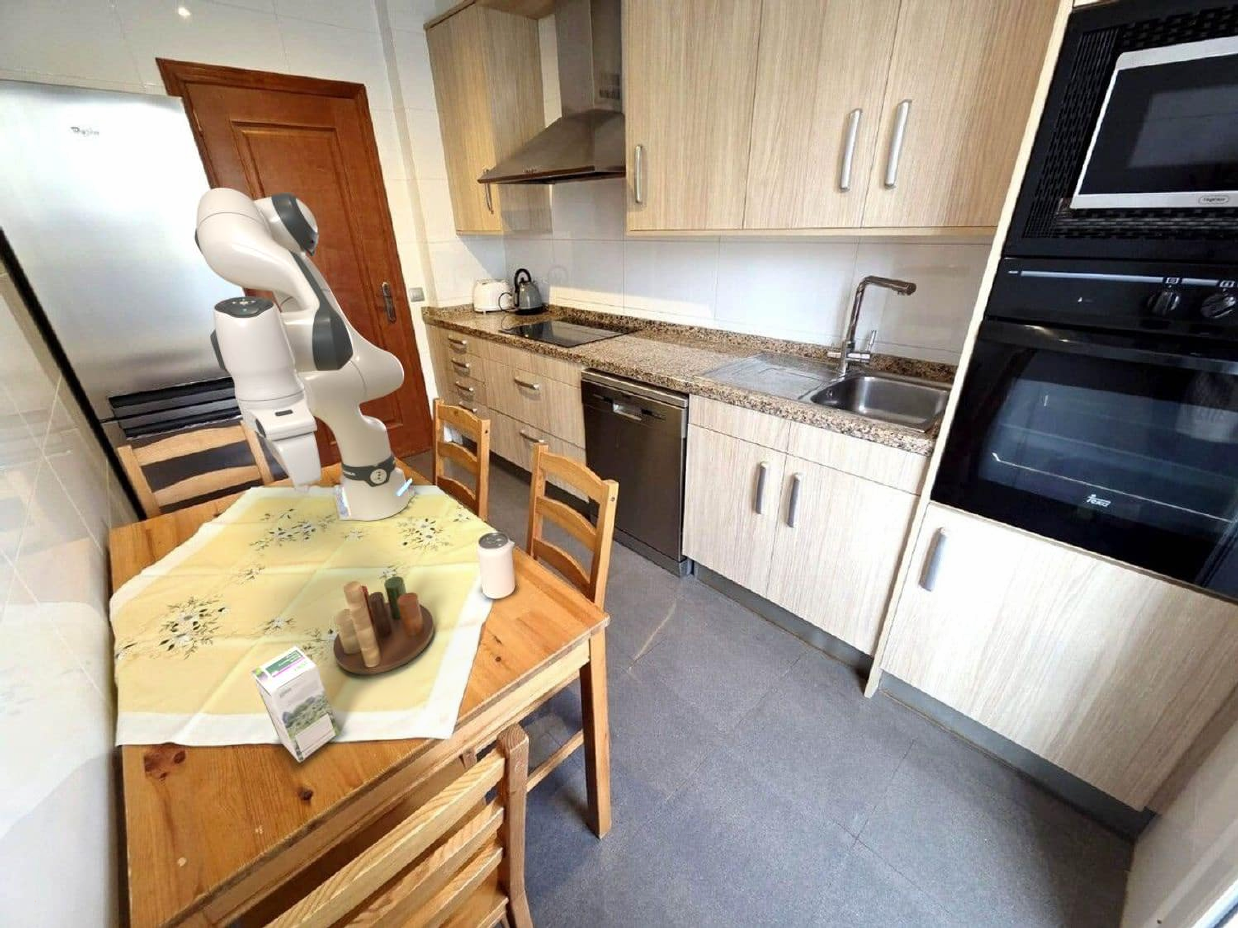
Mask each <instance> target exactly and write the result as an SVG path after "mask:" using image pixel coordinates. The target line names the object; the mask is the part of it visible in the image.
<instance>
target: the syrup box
mask: <svg viewBox="0 0 1238 928" xmlns="http://www.w3.org/2000/svg"><path fill="white" fill-rule="evenodd" d="M250 673H251V676H252V679H253V681H254V683H255V686H256V688H257V690H258V692H259V694H260V697H261V699H262V702H263V704H264V706H265V709H266V711H267V714H268V716H269V718H270V720H271V723H272V725H273V727H274V730H275V733H276V735H277V737H278V739H279V741H280V743H281V744H282V745H283V746H284V747H285V748H286V749H287V751H289V753H290V754H291V755H292V757H294V759H295V760H296V761H297V762H298V763H302V762H304V761H305V760H306V759H308V758H309V757H310V756H311V755H313V754H314V753H315V752H317V751H318V750H319V749H321V748H322V747H323V746H324V745H326V744H327V743H328V742H330V741H332V740H333V739H334V738H335V737H337V736H338V735H339V734H340V731H339V727H338V725H337V722H336V719H335V716H334V713H333V710H332V707H331V704H330V701H329V697H328V695H327V692H326V689H325V686H324V683H323V680H322V676H321V673H320V670H319V668H318V665H317V664H316V663H315V662H314V661H313V660H312V659H311V658H309V657H308V656H307V655H306V653H304V652H303V651H302V650H301V649H300V648H298V647H297V645H294V646H292V647H291V648H289V649H288V650H286V651H284V652H282V653H280V654H279V655H277V656H276V657H274V658H272V659H270V660H269V661H267V662H266V663H264V664H262V665H260V666H259V667H257V668H255V669H254V670H252V671H251V672H250Z"/></svg>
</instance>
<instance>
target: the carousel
mask: <svg viewBox="0 0 1238 928" xmlns="http://www.w3.org/2000/svg"><path fill="white" fill-rule="evenodd" d="M383 587H384V590H385V594H386V598H387V602H386V599H385V596H384V593H383V592H382V591H375V592H372V593H369V589H368V587H367V586H366V585H362V582H360V581H358V580H352V581H349V582H347V583H345V584H344V586H343V590H342V591H343V593H344V597H345V599H346V604H347V606H348V608H344V609H342V610H340V611H338V612H337V613H335V615H334V617H333V620H334V624H335V626H336V630H337V634H336V637H335V639H334V641H333V650H332V651H333V655H334V657H335V660H336V662H337V664H338V665H339V666H340V667H341V668H343V670H346V671H348V672H350V673H354V674H359V675H376V674H375V673H380V674H382V673H381V672H385V671H388V670H391V669H394V668H396V667H399V666H401V665H403V664H405V663H406V664H408V663H409V662H411V661H412V660H414V659H415V658H416V657H417V656H418V655H419V654H421V652H422V651H424V649H425V648H427V645H428V644H429V643H430V641H431V639H432V637H433V634H434V631H435V623H434V619H433V615H432V613H431V611H430V610H429V609H428V608H427V607H426V606H424V605H422V604H421V603H420V601H419V597H418V594H417V593H415V592H407V589H406V583H405V580H404V578H403V577H402V576H399V575H397V576H392V577H389V578H388V579H386V580H385V581H384V583H383ZM415 656H416V657H415ZM414 657H415V658H414ZM413 658H414V659H413ZM411 659H412V660H411ZM410 660H411V661H410ZM408 661H409V662H408ZM407 662H408V663H407ZM406 664H405V665H406ZM403 666H404V665H403ZM401 667H402V666H401ZM399 668H400V667H399ZM394 670H395V669H394ZM388 672H389V671H388ZM385 673H386V672H385Z"/></svg>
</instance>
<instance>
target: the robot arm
mask: <svg viewBox="0 0 1238 928" xmlns="http://www.w3.org/2000/svg"><path fill="white" fill-rule="evenodd" d="M195 221H196V222H195V223H196V227H195V231H194V242H195V244H196V246H197V248H198V250H199V252H200V254H201V255H202V257H203V258H204V261H205V263H206V264H207V266H208V267H209V268H210V269H211V271H212V272H213V273H215V274H216V275H217V276H218V277H219V278H221V279H223V280H224V281H225V282H227V283H230V284H232V285H234V286H237V287H239V288H244V289H251V290H258V291H259V290H260V291H268V292H272V293H273V296H274V298H275V300H276V302H277V304H278V306H279V307H278V306H277V304H276V302H274V301H273V300H271V299H268V298H264V297H258V296H250V295H249V296H236V297H229V298H228V299H223V300H220V301H219V302H217V303H216V304H215V305H214V306H213V308H212V316H213V323H214V324H213V325H214V329H213V331H212V332H211V334H210V335H209V336H210V343H211V345H212V349H213V351H214V354H215V357H216V359H217V363H218V366H219V369H221V370H222V371H224V372H225V373H227V374H228V375H230V377H231V379H232V380H233V383H234V397H235V399H236V402H237V405H238V408H239V411H240V414H241V417H242V420H243V423H244V425H245V427H246V428H247V429H249V430H251V431H254V432H256V433H257V434H258V435H259V437H261V438H263V441H264V444H265V446H266V448H267V449H268V450H269V452H270V453H271V455H272V456H273V458H274V459H275V461H276V462H277V463H278V464H279V466H280V467H281V468H282V470H283V471H284V473H286V475H287V476H288V479H289V481H290V485H291V486H292V488H293V489H294V491H295V492H296V493H297V494H302V493H305V492H308V491H309V485H312V484H316V483H319V482H321V480H322V476H323V471H322V470H323V469H322V464H321V458H320V453H319V448H318V444H317V443H318V442H317V440H316V435H315V433H314V432H316V431H318V426H317V422H316V419H315V417H316V418H317V419H319V420H320V421H322V422H323V423H324V424H325V425H326V426H327V427H328V428H329V429H330V430H331V432H332V434H333V436H334V438H335V441H336V444H337V447H338V450H339V454H340V457H341V461H340V469H341V473H342V474H341V475H339V483H340V484H335V485H333V489H334V492H333V498H334V502H335V507H336V511H337V515H338V519H339V520H340V521H353V520H356V521H363V522H370V521H371V522H372V521H378V520H383V519H386V518H390V517H392V516H394V515H397V514H399V513H400V512H402V511H403V510H405V508H406V507H408V504H409V502H410V501H411V500H412V499H413V498H414V497H415V496H416V493H415V491H414V490H412V489H411V488H409V486H410V484H411V483H412V482H413V480H412V479H413V478H410V479H408V480H406V476H405V473H404V470H403V469H401V468H400V467H397V463H396V456H395V454H394V452H393V451H392V450H391V449H392V448H391V444H390V440H389V435H388V434H389V433H388V429H387V427H386V425H385V424H384V423H383V422H382V421H381V420H380V419H378V418H376V417H373V416H371V415H370V416H369V415H365V414H362V411H361V409H360V405H361V404H364V403H367V402H370V401H373V400H377V399H380V398H384V397H386V396H388V395H390V394H392V393H394V392H395V391H396V390H398V389H400V388H401V387H402V385H403V383H404V379H405V371H404V368H403V365H402V363H401V361H400V360H399V359H398V358H397V357H396V356H395V355H394V354H392V353H391V352H389V351H387V350H384V349H381V348H380V347H377V346H375V345H374V344H372V343H371V342H370V341H369V340H367V339H365V338H364V336H362V335H361V334H360V333H359V332H358V331H357V330H356V329H355V328H354V326H352V324H351V323H350V321H349V320H348V318H347V317H346V315H345V313H344V311H343V310H342V308H341V306H340V305H339V303H338V301H337V299H336V296H335V295H334V293H333V291H332V290H331V288H330V286H329V284H328V282H327V281H326V279H325V278H324V276H323V275H322V273H321V272H320V270H319V269H318V267H317V266H316V265H315V264H314V262H313V261H312V260H311V259H310V258H309V256H310V257H311V258H313V257H314V256H315V255H316V247H317V246H318V244H319V238H320V232H319V228H318V225H317V221H316V219H315V216H314V214H313V213H312V212H311V210H310V209H309V207H308V206H307V205H306V204H305V203H304V202H302V201H301V199H300V198H299V197H298V196H296V195H294V194H292V193H290V192H280V193H274V194H271V196H267V197H263V198H260V199H259V198H258V199H255V200H253V199H252V198H250V197H249V196H247V195H246V194H245V193H243V192H241V191H239V190H236V189H234V188H228V187H216V188H211V189H209V190H207V191H205V193H203V195H202V196H201V197H200V199H199V202H198V205H197V209H196V220H195ZM306 253H307V254H308V255H309V256H308V255H307V254H306ZM279 308H280V309H279ZM280 310H281V311H280Z"/></svg>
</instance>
